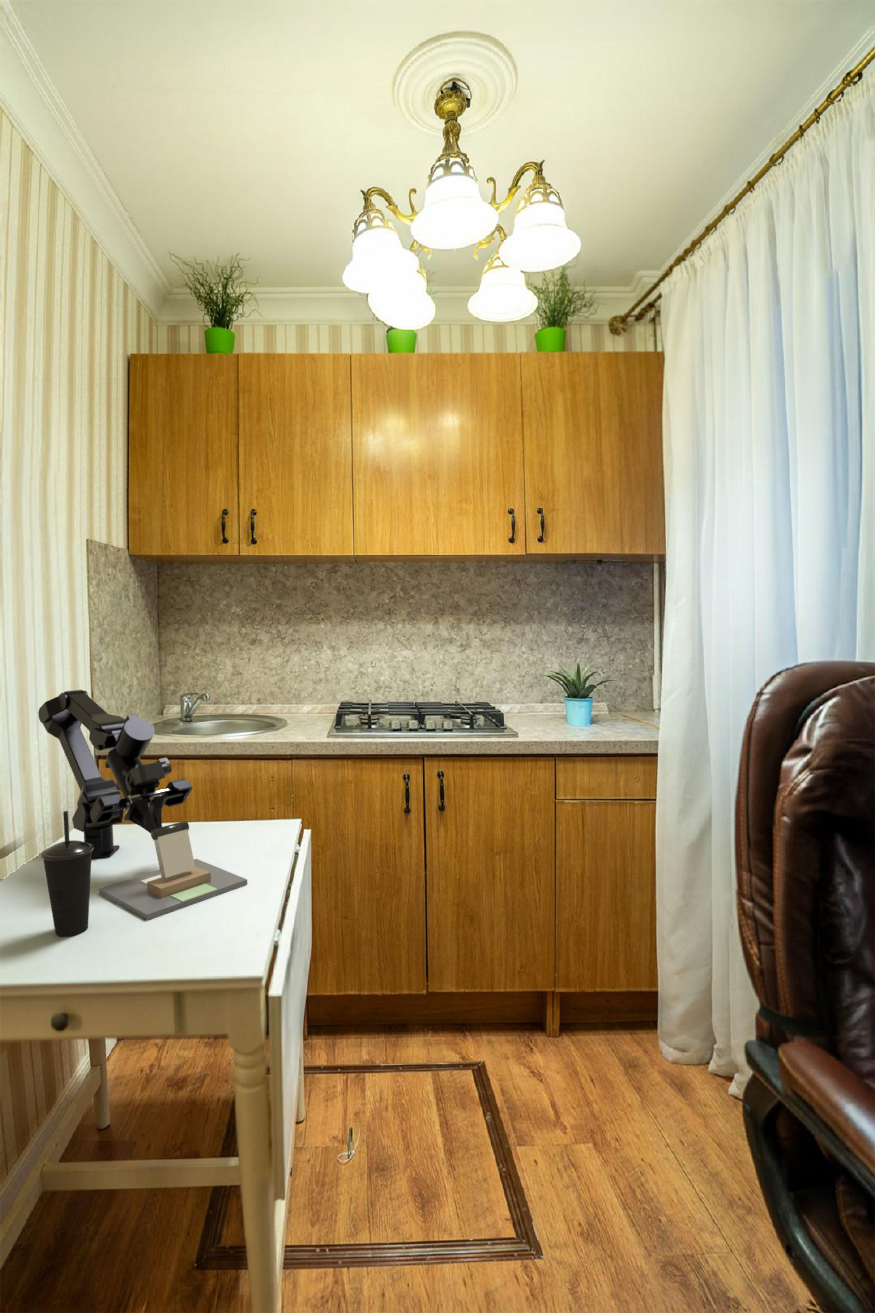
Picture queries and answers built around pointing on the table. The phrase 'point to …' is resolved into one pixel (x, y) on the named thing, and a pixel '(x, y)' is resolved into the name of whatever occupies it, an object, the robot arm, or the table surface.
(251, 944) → the table surface
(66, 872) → the drinking cup
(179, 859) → the bench scraper
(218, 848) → the table surface
